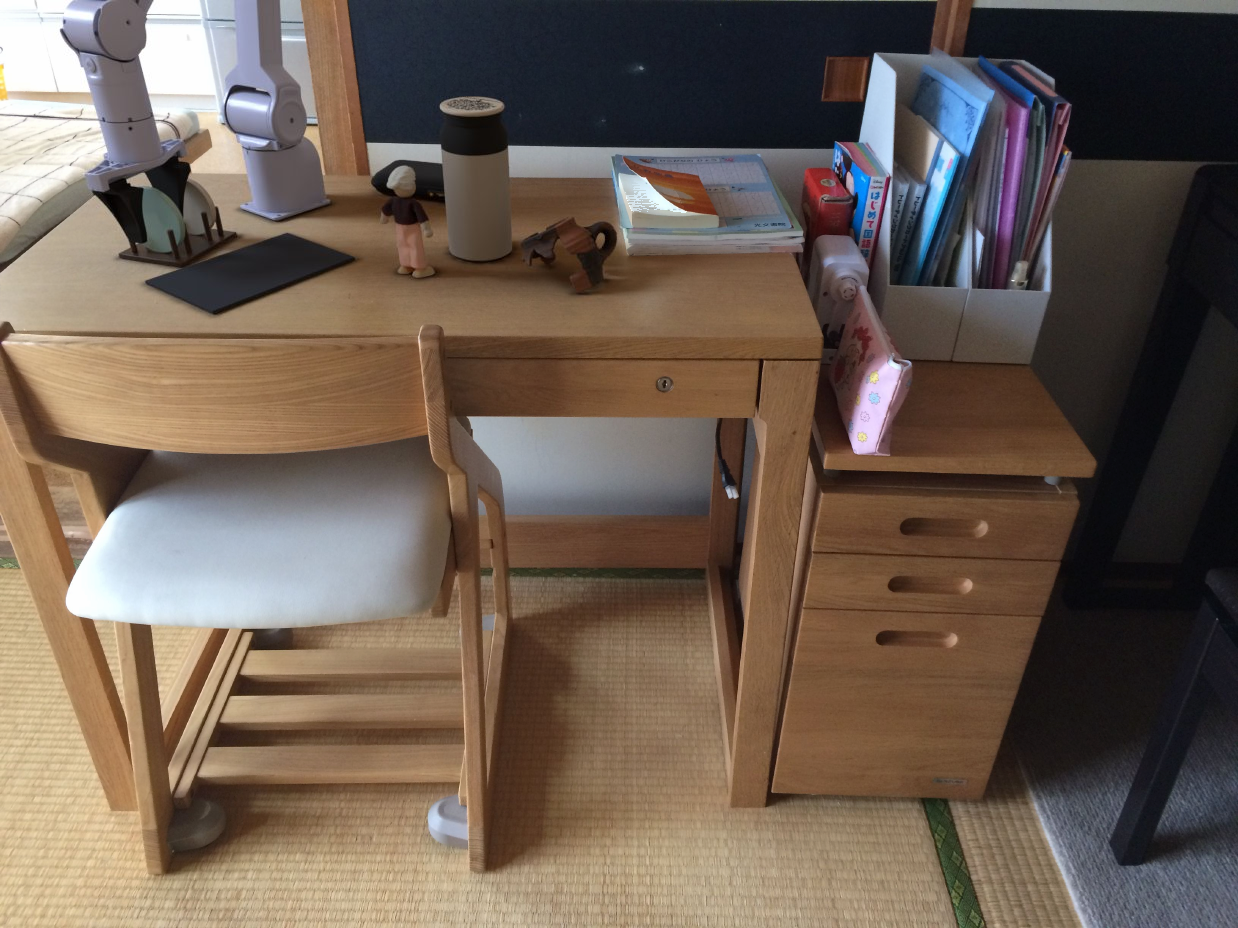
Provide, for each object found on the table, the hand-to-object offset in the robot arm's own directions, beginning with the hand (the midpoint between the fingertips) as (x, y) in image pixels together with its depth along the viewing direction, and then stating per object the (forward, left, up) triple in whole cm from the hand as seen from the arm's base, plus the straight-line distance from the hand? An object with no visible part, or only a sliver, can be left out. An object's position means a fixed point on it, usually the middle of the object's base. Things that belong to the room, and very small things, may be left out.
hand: (156, 232), depth 113 cm
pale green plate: (0, 0, +2) cm, 2 cm away
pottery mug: (-27, +43, -3) cm, 51 cm away
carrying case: (-38, +7, -3) cm, 39 cm away
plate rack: (-3, -1, -3) cm, 4 cm away
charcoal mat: (-4, +12, -3) cm, 13 cm away
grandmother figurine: (-16, +27, -3) cm, 32 cm away
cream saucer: (-6, -2, +1) cm, 7 cm away
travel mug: (-26, +29, -3) cm, 39 cm away
